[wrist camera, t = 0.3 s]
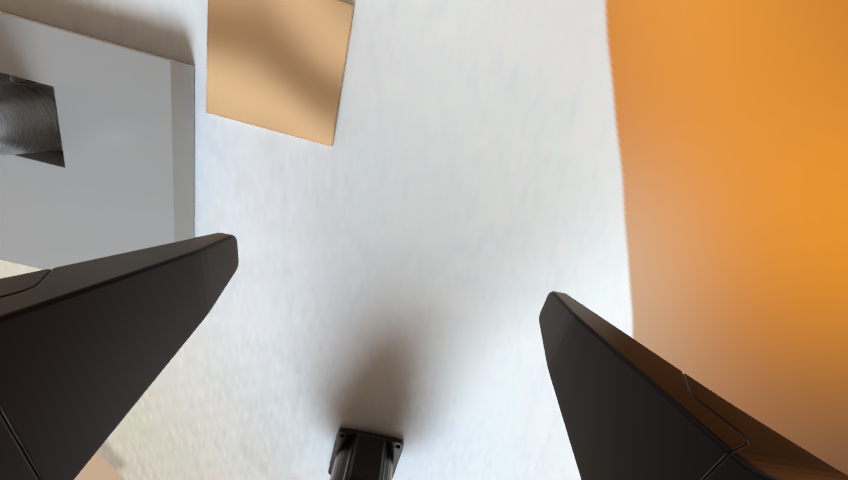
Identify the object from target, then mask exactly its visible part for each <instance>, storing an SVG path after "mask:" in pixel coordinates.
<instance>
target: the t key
mask: <svg viewBox="0 0 848 480" xmlns="http://www.w3.org/2000/svg"><path fill="white" fill-rule="evenodd" d="M54 150H63V148H62V141H61V134H60V127H59V120H58V113H57V106H56V99H55V93H54V87H53V86H49V85H45V84H37V83H23V82H9V81H0V156H6V155H16V154H25V153H35V152H44V151H54Z"/></svg>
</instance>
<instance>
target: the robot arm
mask: <svg viewBox="0 0 848 480" xmlns="http://www.w3.org/2000/svg"><path fill="white" fill-rule="evenodd" d="M237 267H238V247H237V239H236V237H235V236H233V235H230V234H224V233H215V234H211V235H206V236H201V237H196V238H192V239H187V240H182V241H178V242H173V243H168V244H164V245H159V246H154V247H149V248H145V249H140V250H135V251H131V252H126V253H121V254H116V255H112V256H107V257H102V258H98V259H93V260H88V261H83V262H79V263H74V264H69V265H65V266H60V267H55V268H53V269H52V270H51V269H45V270H41V271H36V272H31V273H27V274H22V275H17V276H12V277H7V278H2V279H0V480H74V479H75V477H76V476H77V475H78V474H79V473H80V471H81V470H82V469H83V468H84V466H85V465H86V464H87V462H88V461H89V460H90V459H91V458H92V456H93V455H94V454H95V453H96V452H97V450H98V449H99V448H100V447H101V445H102V444H103V443H104V442H105V440H106V439H107V438H108V437H109V436H110V434H111V433H112V432H113V431H114V429H115V428H116V427H117V426H118V424H119V423H120V422H121V421H122V419H123V418H124V417H125V416H126V415H127V413H128V412H129V411H130V410H131V408H132V407H133V406H134V405H135V403H136V402H137V401H138V400H139V399H140V397H141V396H142V395H143V394H144V392H145V391H146V390H147V389H148V387H149V386H150V385H151V384H152V382H153V381H154V380H155V379H156V378H157V376H158V375H159V374H160V373H161V371H162V370H163V369H164V368H165V366H166V365H167V364H168V363H169V362H170V360H171V359H172V358H173V357H174V355H175V354H176V353H177V352H178V350H179V349H180V348H181V347H182V345H183V344H184V343H185V342H186V341H187V339H188V338H189V337H190V336H191V334H192V333H193V332H194V331H195V329H196V328H197V327H198V326H199V324H200V323H201V322H202V321H203V319H204V318H205V317H206V316H207V314H208V313H209V312H210V310H211V309H212V307H213V306H214V304H215V303H216V301H217V300H218V298H219V296H220V295H221V293H222V292H223V290H224V289H225V287H226V285H227V284H228V282H229V281H230V279H231V278H232V276H233V275H234V273H235V271H236V270H237ZM539 323H540V328H541V334H542V339H543V345H544V350H545V356H546V361H547V366H548V370H549V373H550V377H551V380H552V384H553V387H554V390H555V393H556V397H557V400H558V403H559V407H560V410H561V413H562V417H563V420H564V423H565V427H566V430H567V433H568V437H569V440H570V443H571V447H572V450H573V453H574V457H575V460H576V463H577V466H578V470H579V473H580V476H581V480H848V475H846V474H844V473H843V472H841V471H839V470H838V469H835V468H834V467H832V466H830V465H829V464H827V463H826V462H824V461H822V460H821V459H819V458H818V457H816V456H814V455H813V454H811V453H810V452H808V451H806V450H805V449H803V448H801V447H800V446H798V445H797V444H795V443H793V442H792V441H790V440H789V439H787V438H785V437H783V436H782V435H780V434H779V433H777V432H776V431H774V430H772V429H770V428H769V427H767V426H766V425H764V424H762V423H761V422H759V421H758V420H756V419H755V418H753V417H751V416H749V415H748V414H747V413H745V412H743V411H742V410H740V409H738V408H737V407H735V406H734V405H732V404H731V403H729V402H728V401H726V400H724V399H723V398H721V397H720V396H718V395H717V394H715V393H714V392H712V391H710V390H709V389H708V388H706V387H704V386H703V385H701V384H700V383H698V382H697V381H695V380H694V379H693V378H691V377H689V376H688V375H687V374H683V373H682V371H680V370H679V369H677V368H676V367H674V366H673V365H671V364H670V363H668V362H667V361H666V360H664V359H663V358H661V357H659V356H658V355H657V354H655V353H653V352H652V351H650V350H649V349H648V348H646V347H645V346H643V345H642V344H640V343H638V342H637V341H636V340H634V339H633V338H631V337H630V336H628V335H627V334H625V333H624V332H622V331H621V330H619V329H618V328H616V327H615V326H613V325H612V324H610V323H609V322H607V321H606V320H604V319H603V318H601V317H600V316H598V315H597V314H595V313H594V312H592V311H591V310H589V309H588V308H586V307H585V306H583V305H582V304H580V303H579V302H577V301H576V300H574V299H573V298H571V297H570V296H568V295H567V294H565V293H560V292H555V291H552V292H550V293H549V294H548V296H547V298H546V301H545V303H544V305H543V308H542V310H541V312H540V316H539ZM403 443H404V442H403V441H402V440H400V439H395V438H390V437H385V436H380V435H375V434H370V433H365V432H360V431H355V430H350V429H345V428H341V429H339V430H338V433H337V437H336V441H335V446H334V450H333V454H332V458H331V462H330V467H329V471H328V473H329V474H330V475H331V477H330V480H392V478H393V475H394V472H395V469H396V467H397V464H398V461H399V458H400V455H401V452H402V450H403Z"/></svg>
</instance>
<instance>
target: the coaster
mask: <svg viewBox="0 0 848 480" xmlns="http://www.w3.org/2000/svg"><path fill="white" fill-rule="evenodd" d="M353 12H354V6H353V5H351V4H348V3H345V2H341V1H338V0H208V28H207V96H206V112H207V113H210V114H214V115H218V116H221V117H225V118H229V119H232V120H236V121H240V122H243V123H247V124H251V125H254V126H258V127H262V128H265V129H269V130H273V131H276V132H280V133H284V134H287V135H291V136H295V137H298V138H302V139H306V140H309V141H313V142H317V143H320V144H324V145H328V146H333V140H334V133H335V127H336V121H337V114H338V108H339V101H340V95H341V89H342V82H343V76H344V69H345V63H346V56H347V50H348V44H349V37H350V31H351V24H352V18H353Z"/></svg>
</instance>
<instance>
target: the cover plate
mask: <svg viewBox="0 0 848 480" xmlns="http://www.w3.org/2000/svg"><path fill="white" fill-rule="evenodd" d="M8 75H12V76H16V77H19V78H23V79H27V80H31V81H34V82H38V83H42V84H45V85H49V86H53V87H54V93H55V99H56V106H57V113H58V120H59V127H60V134H61V141H62V148H63V154H64V155H61V154H57V153H53V152H49V151H44V152H35V153H25V154H16V155H6V156H0V260H4V261H9V262H13V263H18V264H22V265H27V266H31V267H36V268H40V269H51V270H52V269H53V268H55V267H60V266H65V265H69V264H74V263H79V262H83V261H88V260H93V259H98V258H102V257H107V256H112V255H116V254H121V253H126V252H131V251H135V250H140V249H145V248H149V247H154V246H159V245H164V244H168V243H173V242H178V241H182V240H187V239H192V238H194V66H193V65H190V64H186V63H183V62H179V61H176V60H172V59H169V58H165V57H162V56H158V55H155V54H151V53H148V52H144V51H140V50H137V49H133V48H130V47H126V46H123V45H119V44H116V43H112V42H109V41H105V40H102V39H98V38H95V37H91V36H87V35H84V34H80V33H77V32H73V31H70V30H66V29H63V28H59V27H56V26H52V25H49V24H45V23H41V22H38V21H34V20H31V19H27V18H24V17H20V16H17V15H13V14H10V13H6V12H3V11H0V81H9V78H8Z"/></svg>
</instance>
